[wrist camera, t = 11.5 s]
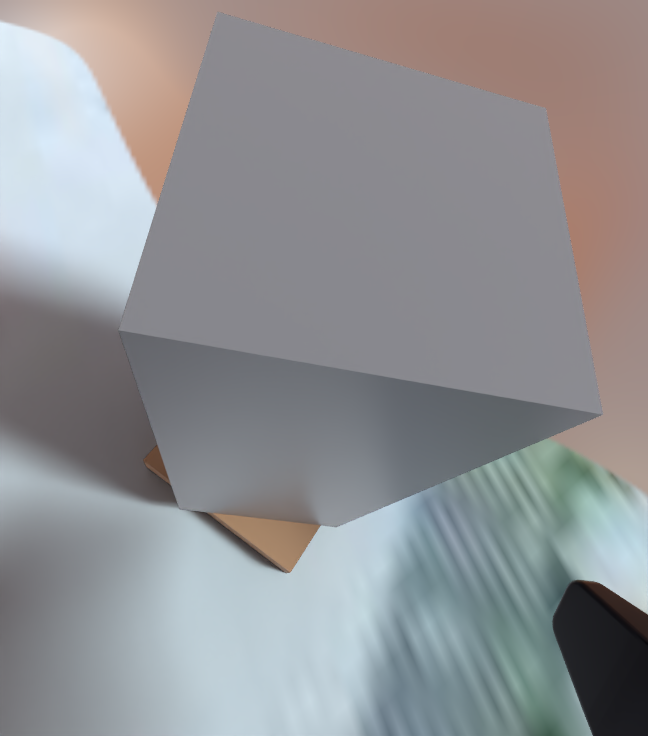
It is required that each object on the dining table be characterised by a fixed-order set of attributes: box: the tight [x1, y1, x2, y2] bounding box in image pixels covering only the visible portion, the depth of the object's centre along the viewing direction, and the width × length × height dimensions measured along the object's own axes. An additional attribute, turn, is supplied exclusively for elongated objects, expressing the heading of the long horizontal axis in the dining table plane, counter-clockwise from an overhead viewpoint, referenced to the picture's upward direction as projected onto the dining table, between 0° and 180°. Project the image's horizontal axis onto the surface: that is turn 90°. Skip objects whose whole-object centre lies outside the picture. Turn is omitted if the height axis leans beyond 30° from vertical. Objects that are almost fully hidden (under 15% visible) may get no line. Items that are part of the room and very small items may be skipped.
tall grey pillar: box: [118, 12, 603, 527], centre depth 11 cm, size 5×5×12 cm
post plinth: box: [143, 445, 320, 573], centre depth 15 cm, size 6×6×6 cm
